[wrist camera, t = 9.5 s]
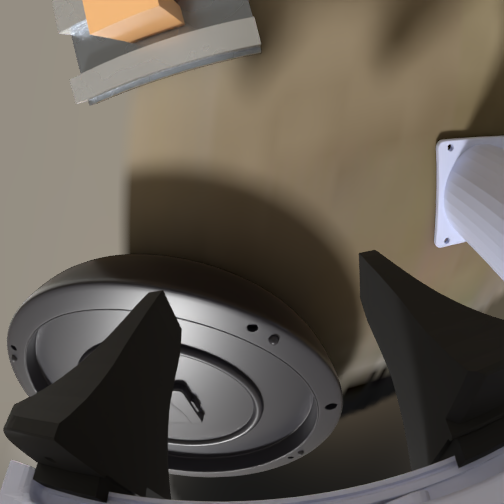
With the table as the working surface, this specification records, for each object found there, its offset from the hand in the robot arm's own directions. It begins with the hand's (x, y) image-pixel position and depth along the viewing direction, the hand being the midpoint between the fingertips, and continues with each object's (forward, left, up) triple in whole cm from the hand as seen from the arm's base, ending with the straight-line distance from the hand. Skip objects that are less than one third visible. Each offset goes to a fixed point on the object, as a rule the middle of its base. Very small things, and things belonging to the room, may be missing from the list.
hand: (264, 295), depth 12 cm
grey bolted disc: (+12, +15, -10) cm, 22 cm away
